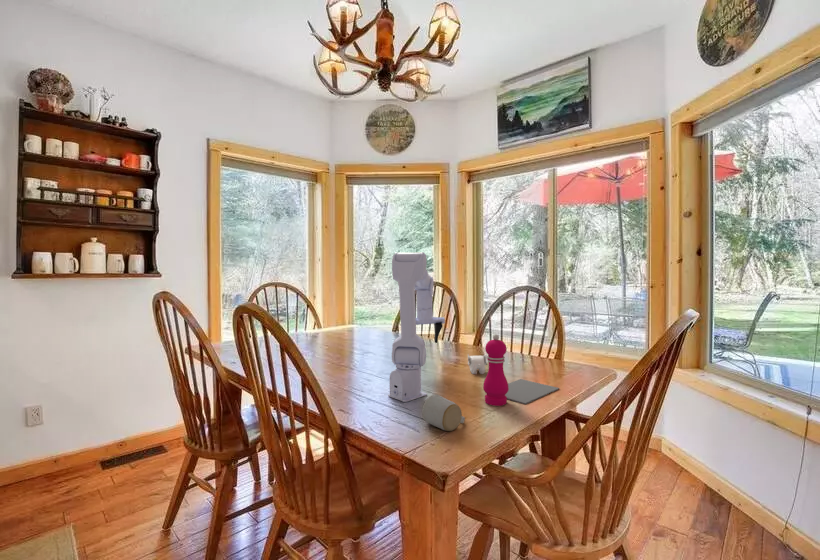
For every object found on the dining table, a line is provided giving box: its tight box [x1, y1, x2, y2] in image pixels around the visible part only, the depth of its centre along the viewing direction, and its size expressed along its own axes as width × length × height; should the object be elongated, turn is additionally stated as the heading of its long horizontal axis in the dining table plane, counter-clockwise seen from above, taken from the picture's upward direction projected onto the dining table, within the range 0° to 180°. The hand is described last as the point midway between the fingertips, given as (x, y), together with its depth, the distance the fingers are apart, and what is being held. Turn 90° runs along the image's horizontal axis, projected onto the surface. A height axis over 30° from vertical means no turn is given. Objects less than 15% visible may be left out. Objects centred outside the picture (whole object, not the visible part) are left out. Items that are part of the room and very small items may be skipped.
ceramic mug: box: [421, 394, 466, 432], centre depth 103 cm, size 10×8×7 cm
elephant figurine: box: [467, 353, 489, 375], centre depth 152 cm, size 8×10×7 cm
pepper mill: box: [482, 333, 509, 407], centre depth 119 cm, size 7×7×20 cm
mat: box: [505, 378, 560, 405], centre depth 129 cm, size 20×14×1 cm
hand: (425, 342), depth 153 cm, fingers open, 7 cm apart
